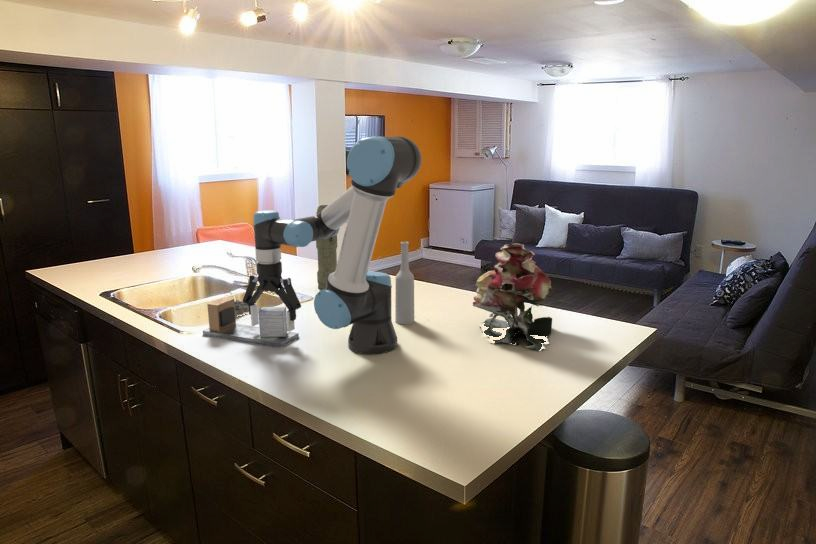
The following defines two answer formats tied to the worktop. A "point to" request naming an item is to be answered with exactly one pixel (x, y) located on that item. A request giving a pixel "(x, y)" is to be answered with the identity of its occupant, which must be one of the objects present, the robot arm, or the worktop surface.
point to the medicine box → (273, 322)
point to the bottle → (404, 290)
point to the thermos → (326, 257)
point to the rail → (238, 326)
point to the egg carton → (240, 307)
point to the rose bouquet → (514, 295)
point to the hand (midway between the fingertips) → (272, 327)
